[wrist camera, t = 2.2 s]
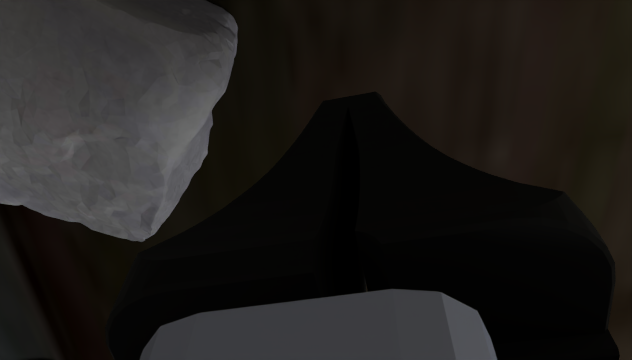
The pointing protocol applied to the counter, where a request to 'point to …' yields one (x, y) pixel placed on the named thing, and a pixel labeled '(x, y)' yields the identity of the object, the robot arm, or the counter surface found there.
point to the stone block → (108, 106)
